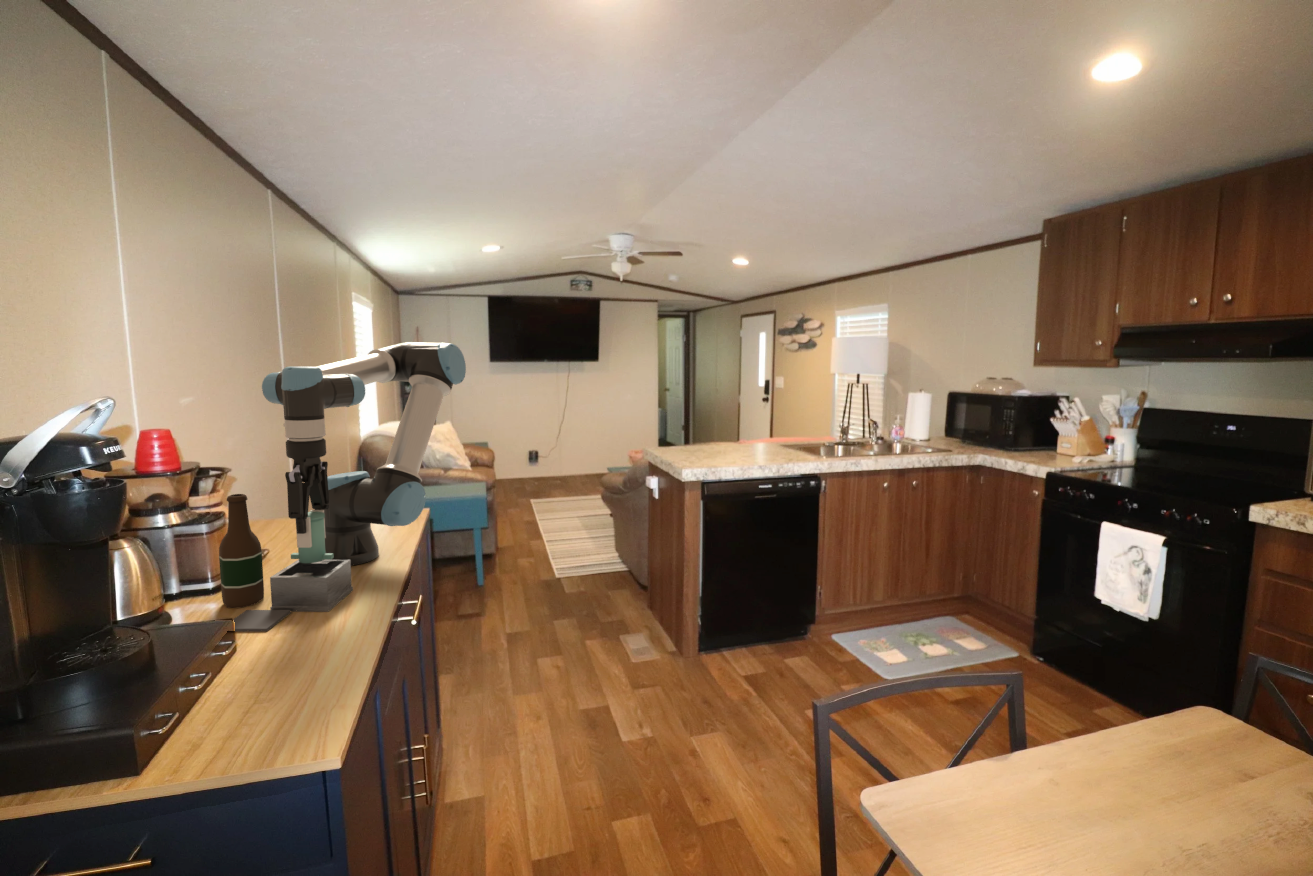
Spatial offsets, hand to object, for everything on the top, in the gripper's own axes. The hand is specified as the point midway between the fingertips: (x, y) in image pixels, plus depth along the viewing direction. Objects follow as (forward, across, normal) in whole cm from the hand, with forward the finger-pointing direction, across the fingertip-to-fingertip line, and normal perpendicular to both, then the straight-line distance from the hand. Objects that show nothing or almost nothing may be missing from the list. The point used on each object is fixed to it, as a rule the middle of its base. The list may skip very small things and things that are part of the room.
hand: (311, 542), depth 135 cm
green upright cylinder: (+4, 0, 0) cm, 4 cm away
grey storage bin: (+13, 0, 0) cm, 13 cm away
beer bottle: (+14, +1, -15) cm, 20 cm away
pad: (+13, +11, -6) cm, 18 cm away
